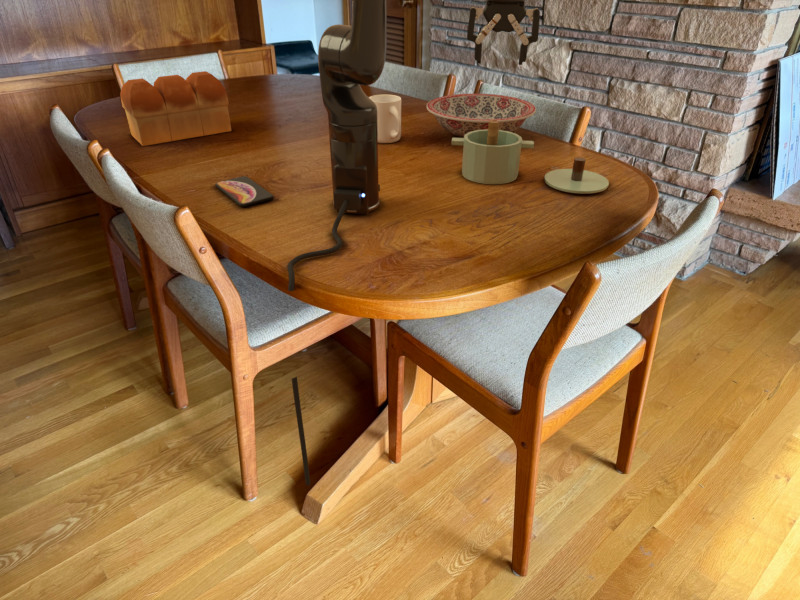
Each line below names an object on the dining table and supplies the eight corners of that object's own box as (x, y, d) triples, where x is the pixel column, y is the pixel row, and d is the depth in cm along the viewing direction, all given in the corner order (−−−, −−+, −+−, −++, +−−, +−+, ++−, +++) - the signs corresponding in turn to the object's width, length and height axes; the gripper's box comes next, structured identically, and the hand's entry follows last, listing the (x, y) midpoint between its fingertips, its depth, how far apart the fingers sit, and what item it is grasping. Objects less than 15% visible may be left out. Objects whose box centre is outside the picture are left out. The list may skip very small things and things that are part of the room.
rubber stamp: (501, 176, 129) (506, 125, 123) (478, 175, 129) (482, 124, 123) (500, 168, 133) (505, 118, 127) (478, 167, 134) (482, 117, 128)
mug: (385, 149, 147) (384, 106, 141) (363, 137, 155) (362, 96, 149) (413, 144, 150) (414, 102, 144) (391, 132, 159) (390, 92, 153)
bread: (141, 146, 148) (126, 87, 140) (129, 134, 156) (115, 78, 148) (233, 130, 160) (224, 75, 152) (217, 120, 169) (208, 67, 161)
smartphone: (241, 204, 114) (213, 182, 124) (241, 208, 114) (214, 186, 124) (275, 195, 117) (245, 174, 128) (275, 199, 118) (246, 178, 128)
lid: (613, 198, 120) (619, 171, 117) (546, 194, 121) (550, 168, 118) (602, 175, 131) (607, 150, 128) (541, 172, 133) (544, 147, 130)
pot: (531, 186, 125) (536, 148, 121) (448, 182, 127) (450, 144, 123) (527, 166, 136) (532, 131, 131) (451, 163, 138) (453, 127, 133)
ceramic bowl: (410, 126, 164) (410, 98, 160) (499, 117, 173) (501, 90, 168) (453, 157, 141) (454, 125, 137) (553, 145, 150) (558, 114, 145)
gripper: (470, -26, 107) (464, 66, 116) (547, -25, 106) (535, 68, 115) (471, -28, 114) (466, 59, 122) (543, -27, 112) (533, 61, 121)
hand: (499, 63), depth 119 cm, fingers open, 8 cm apart
